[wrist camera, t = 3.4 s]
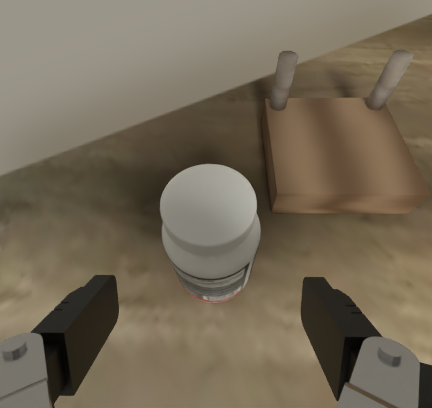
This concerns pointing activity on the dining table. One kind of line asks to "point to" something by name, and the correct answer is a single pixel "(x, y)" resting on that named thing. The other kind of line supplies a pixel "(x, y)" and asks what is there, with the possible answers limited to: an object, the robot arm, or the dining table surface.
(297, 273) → the dining table surface
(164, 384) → the dining table surface
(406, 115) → the dining table surface
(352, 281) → the dining table surface
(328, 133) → the stand
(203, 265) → the pill bottle
